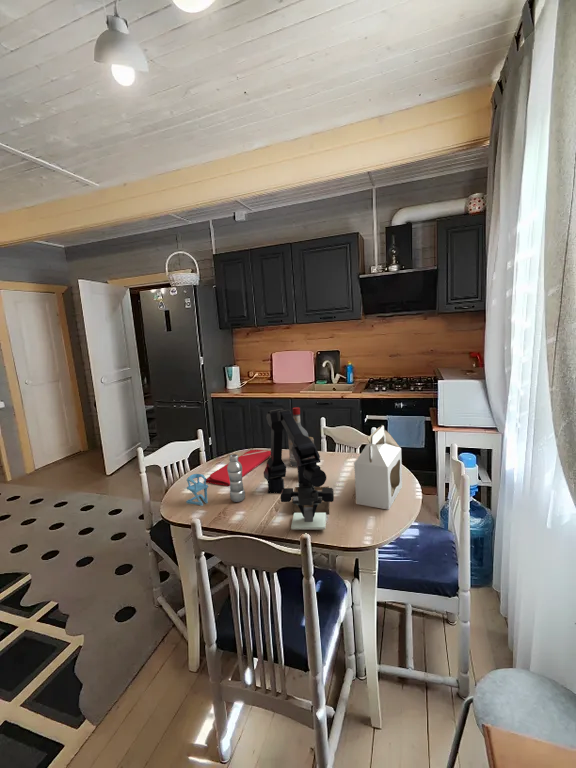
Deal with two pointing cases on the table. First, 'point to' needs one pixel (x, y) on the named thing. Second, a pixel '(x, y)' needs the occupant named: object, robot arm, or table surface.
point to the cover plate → (309, 525)
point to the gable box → (378, 471)
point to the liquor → (297, 418)
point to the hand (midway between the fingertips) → (308, 516)
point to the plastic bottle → (235, 479)
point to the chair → (197, 489)
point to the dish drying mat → (248, 464)
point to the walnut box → (320, 508)
